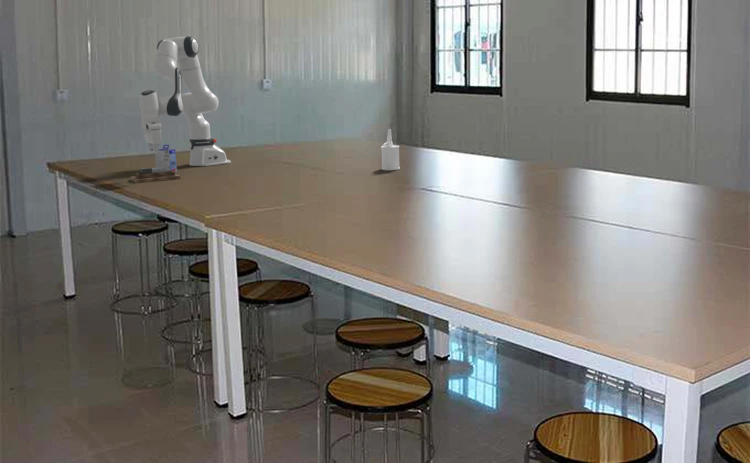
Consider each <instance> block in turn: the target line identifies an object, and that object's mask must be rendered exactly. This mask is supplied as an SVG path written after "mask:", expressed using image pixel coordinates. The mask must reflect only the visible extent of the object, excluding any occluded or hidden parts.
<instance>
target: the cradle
mask: <svg viewBox="0 0 750 463" xmlns="http://www.w3.org/2000/svg"><path fill="white" fill-rule="evenodd" d="M134 174H135V176H130V180H131V182H133V183H135V184H139V183H141V184H142V183H150V182H158V181H159V182H162V181H169V180H170V181H171V180H179V179H180V180H181V174H178V173H175V171H173V170H170V172H161V173H150V174H141V173H140V172H135V173H134Z"/></svg>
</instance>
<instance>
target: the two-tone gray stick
mask: <svg viewBox="0 0 750 463" xmlns="http://www.w3.org/2000/svg"><path fill="white" fill-rule="evenodd" d="M139 170H140V172H139V173H141V174H150V173H161V172H170V167H158V168H156V167H141V168H140V169H139Z"/></svg>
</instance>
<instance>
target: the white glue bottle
mask: <svg viewBox="0 0 750 463" xmlns="http://www.w3.org/2000/svg"><path fill="white" fill-rule="evenodd" d="M392 134H393V133H392V129H391V128H388V129H387V134H386V135H387V137H386V142H384V143H382V146H380V149H381V170H383V171H397V170H400V169H401V167H400V145H396V144H393V143H394V142H393V141H392V140H393V138H392Z"/></svg>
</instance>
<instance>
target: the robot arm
mask: <svg viewBox="0 0 750 463" xmlns="http://www.w3.org/2000/svg"><path fill="white" fill-rule="evenodd" d="M199 48H200V47H199V42H198V40H197V39H196V38H195V37H193V36H189V35H188V36H176V37H171V38H164V39H161V40H160V41H158V43H157V45H156V52H155V58H154V61H153V62H154V63H153V68H154V70H155V72H156V73H157V74H158V76H160V77H162V78H163V79H165V80H166V79H167V80H169V81H171V90H172V91H171V92H172V93H171V94H170V95H158V94H157V91H156V90H152V89H151V90H149V89H148V90H144V91H142V92H141V93H139V94H140V96H139V109H140V111H141V112H140V113H141V117H140V118H141V127H142V128H141V129H142V130H144V140H145V142H146V143H148V147H149V151H150V152H153V153H154V155H155V154H157V153H158V149H159V146H161V144H162V129H163V128H162V122H161V117H164V116H165V117H166V116H169V117H178V116H179V115H181V113H182V114H183V115H184V116H185V119H186V120H187V124H188V131H189V150H190V157H189V163H188V165H189V166H193V167H197V166H199V167H200V166H202V167H210V166H217V165H225V164H231V163H232V161H231V160H230V159H227V155H226V152H225V150H223V149H222V148H220V147H219V146H218V145H216V143H217V142H218V140H217V138H212V136H211V127H210V126H211V124H210V123H209V121H208V120H206V119H205V118H204V115H203V114H210V113H214V112H216V111H217V110H218V107H219V104H220V103H219V98H218V96H216V95H215V94H214V93H213V92H212V91H211V90H210V89H209V87H208V85H207V83H206V82H205V80H204V76H203V72H202V68H201V64H200V63H201V62H200V61H199V60H200V59H199V57H198V53H199V50H200V49H199ZM183 85H184V86H185V87H186V88H187V89H188V90H189V91H190V92H185V93H183Z"/></svg>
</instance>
